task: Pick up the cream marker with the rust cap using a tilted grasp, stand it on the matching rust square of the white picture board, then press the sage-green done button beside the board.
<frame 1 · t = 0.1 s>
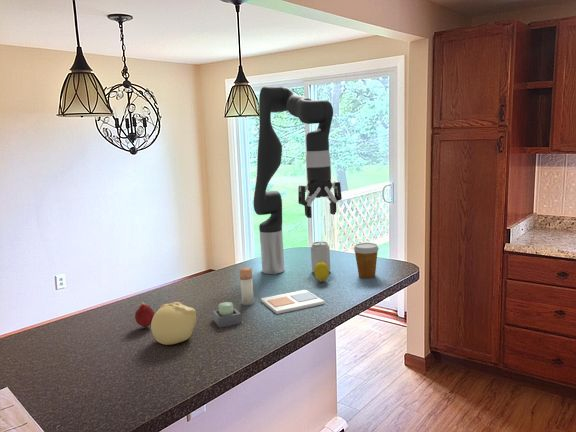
hand: (321, 215, 156), 29 cm above the countertop, tool pointing down, fingers open, 8 cm apart
marker: (248, 303, 165), on the countertop
disposable coffee cup: (366, 276, 188), on the countertop
button housing: (227, 321, 150), on the countertop
onion: (146, 328, 149), on the countertop
picture board: (292, 302, 163), on the countertop
done button: (226, 310, 149), point 4 cm above the countertop, slide at 0.0 cm
lemon: (322, 282, 184), on the countertop
can: (321, 272, 197), on the countertop
pale yellow lumpy ball: (174, 340, 139), on the countertop
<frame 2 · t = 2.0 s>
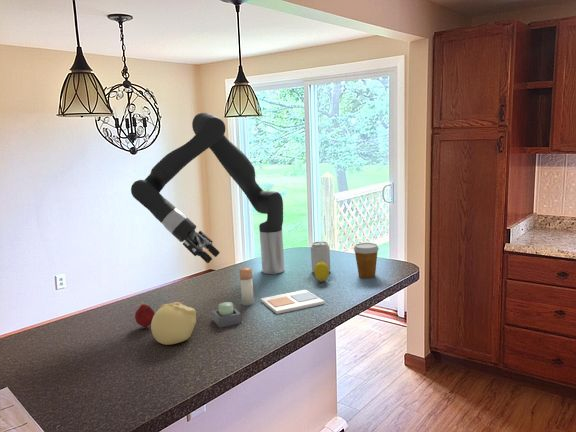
hand: (214, 257, 164), 16 cm above the countertop, tool tilted 45°, fingers open, 8 cm apart
nothing on the countertop moved.
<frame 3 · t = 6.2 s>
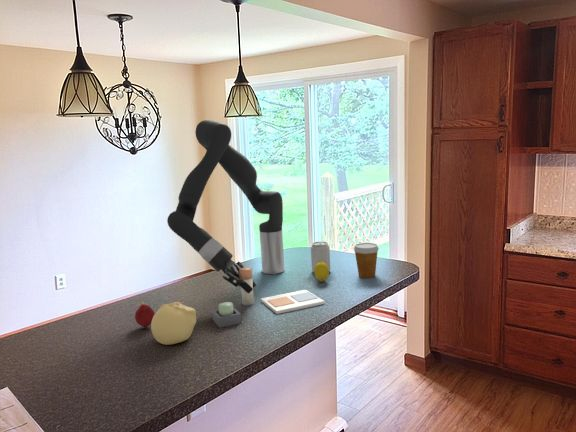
hand: (252, 289, 164), 5 cm above the countertop, tool tilted 45°, fingers closed on marker, 4 cm apart
marker: (248, 303, 165), on the countertop, touching gripper
everything else where it was.
when the fingers open (7 cm above the countertop, at t = 10.8 s): marker drops 1 cm, resting on picture board.
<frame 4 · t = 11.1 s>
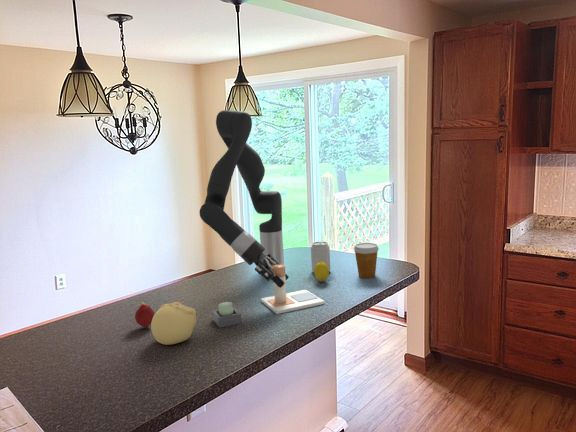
hand: (284, 282, 160), 8 cm above the countertop, tool tilted 45°, fingers open, 6 cm apart
marker: (280, 301, 161), point 1 cm above the countertop, touching picture board
everything else where it was.
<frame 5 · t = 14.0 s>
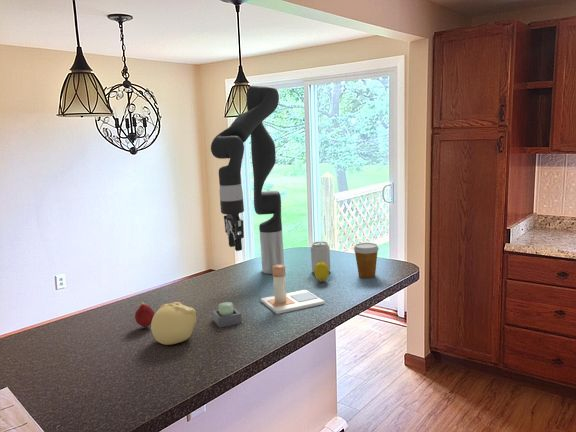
hand: (235, 248, 161), 19 cm above the countertop, tool pointing down, fingers open, 6 cm apart
nothing on the countertop moved.
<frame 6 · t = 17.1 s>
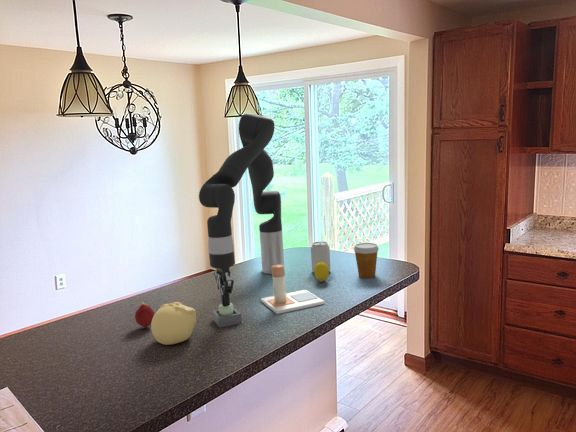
hand: (225, 305, 149), 5 cm above the countertop, tool pointing down, fingers closed
done button: (226, 311, 149), point 3 cm above the countertop, slide at 0.2 cm, touching gripper
everything else where it was.
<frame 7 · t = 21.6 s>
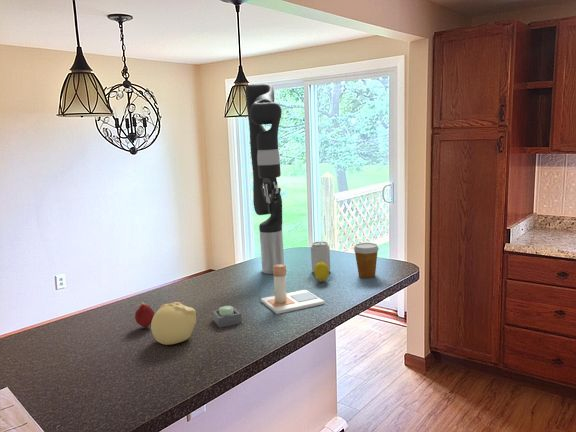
hand: (272, 213, 167), 29 cm above the countertop, tool pointing down, fingers closed
done button: (226, 314, 149), point 2 cm above the countertop, slide at 1.2 cm
everything else where it was.
at the end: marker inside the target area on the picture board (0.1 cm from its centre), point 1.3 cm above the picture board's base; marker tilted 2°; done button slide at 1.2 cm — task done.
